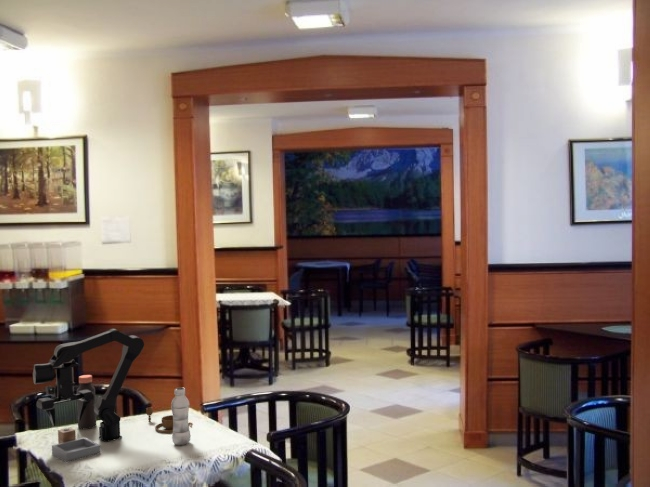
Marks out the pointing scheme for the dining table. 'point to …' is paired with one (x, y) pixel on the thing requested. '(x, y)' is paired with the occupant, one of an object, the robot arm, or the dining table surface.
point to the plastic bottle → (180, 418)
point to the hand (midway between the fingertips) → (66, 423)
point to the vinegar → (88, 415)
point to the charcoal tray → (75, 449)
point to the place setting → (163, 422)
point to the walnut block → (66, 435)
